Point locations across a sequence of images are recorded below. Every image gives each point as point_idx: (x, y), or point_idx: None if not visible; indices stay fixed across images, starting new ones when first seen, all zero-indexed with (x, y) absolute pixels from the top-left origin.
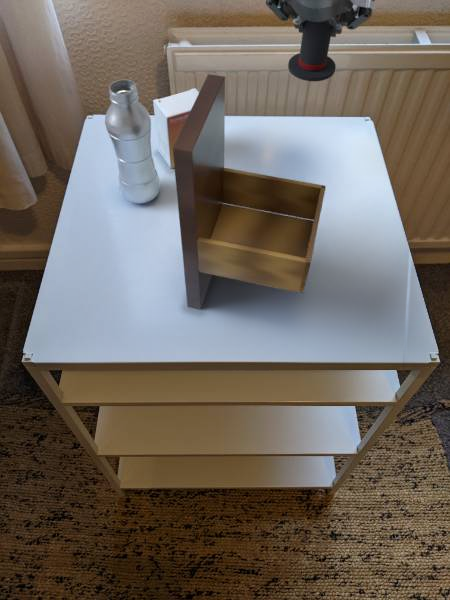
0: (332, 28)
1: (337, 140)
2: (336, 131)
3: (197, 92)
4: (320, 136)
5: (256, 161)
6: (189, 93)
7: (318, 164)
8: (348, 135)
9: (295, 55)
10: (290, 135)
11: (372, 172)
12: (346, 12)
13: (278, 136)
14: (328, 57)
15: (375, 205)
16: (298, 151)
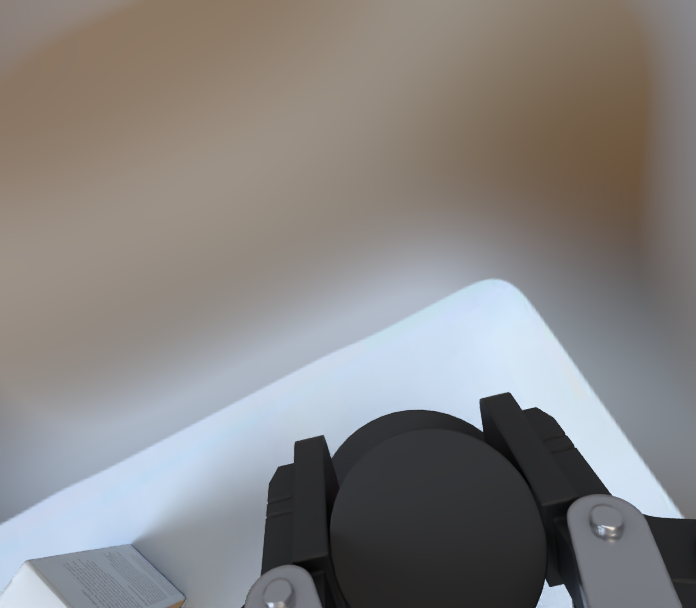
0: (554, 583)
1: (468, 368)
2: (451, 335)
3: (39, 585)
4: (423, 373)
5: None
6: (14, 606)
7: None
8: (485, 336)
9: None
10: (352, 406)
11: (604, 447)
12: (689, 589)
13: (325, 425)
14: (463, 428)
15: None
16: None
